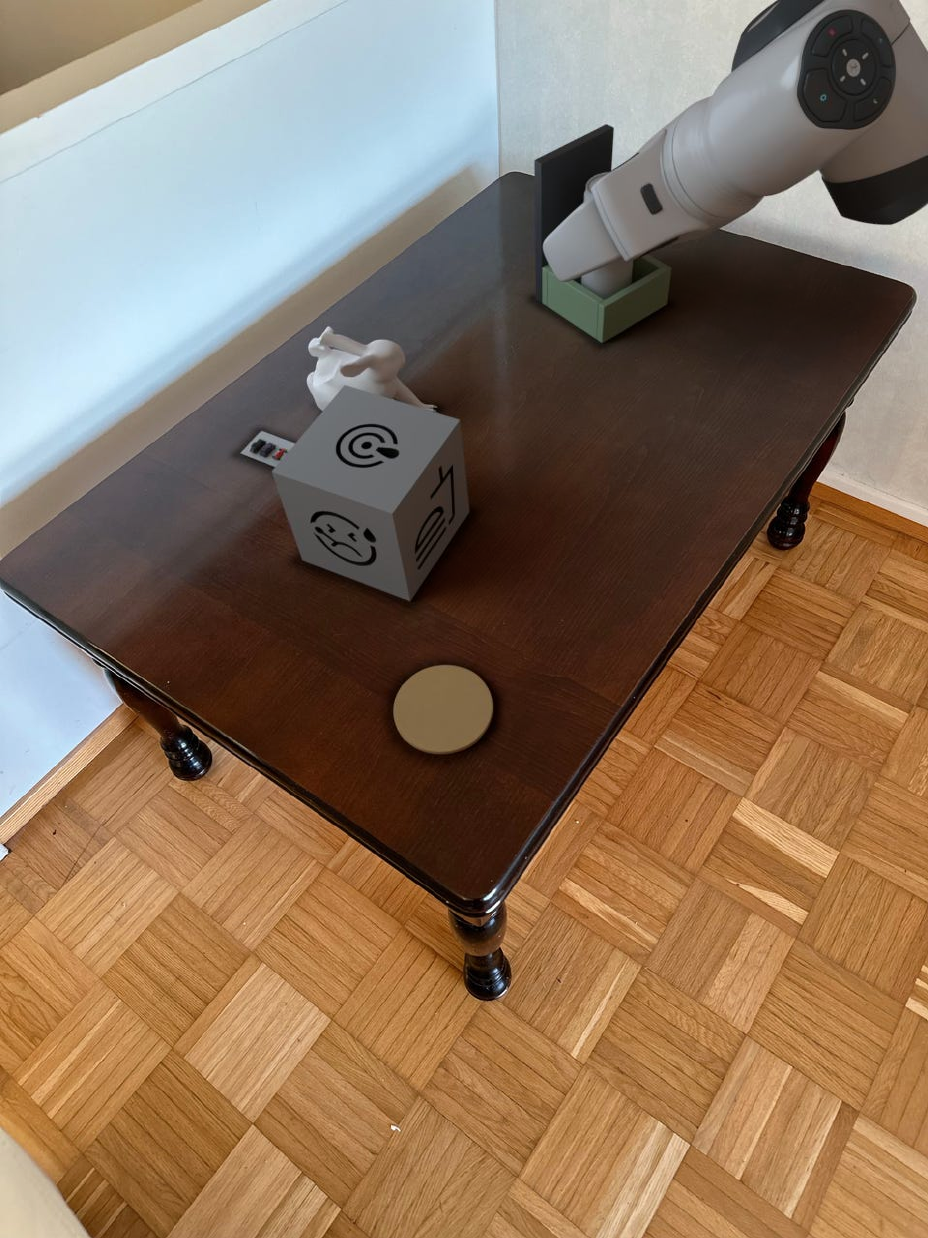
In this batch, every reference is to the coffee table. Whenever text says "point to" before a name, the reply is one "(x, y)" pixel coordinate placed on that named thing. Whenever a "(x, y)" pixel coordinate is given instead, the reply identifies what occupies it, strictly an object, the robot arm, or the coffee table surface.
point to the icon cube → (375, 490)
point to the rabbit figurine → (358, 369)
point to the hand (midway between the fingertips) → (603, 239)
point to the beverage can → (609, 276)
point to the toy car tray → (268, 448)
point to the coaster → (443, 709)
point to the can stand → (554, 202)
